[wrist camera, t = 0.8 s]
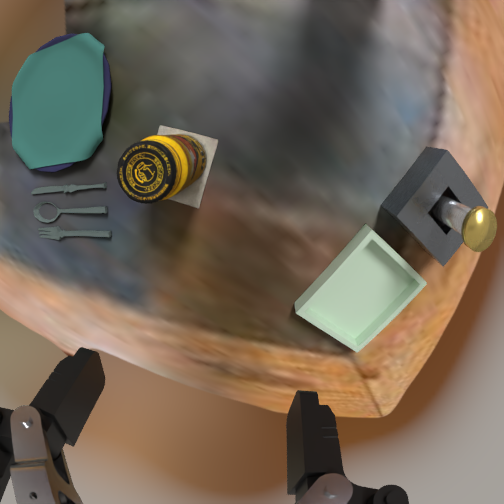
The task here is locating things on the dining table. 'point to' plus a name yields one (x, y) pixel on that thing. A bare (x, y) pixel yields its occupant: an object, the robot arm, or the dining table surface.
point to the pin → (467, 222)
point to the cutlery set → (61, 114)
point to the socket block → (431, 201)
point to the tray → (360, 291)
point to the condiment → (167, 167)
